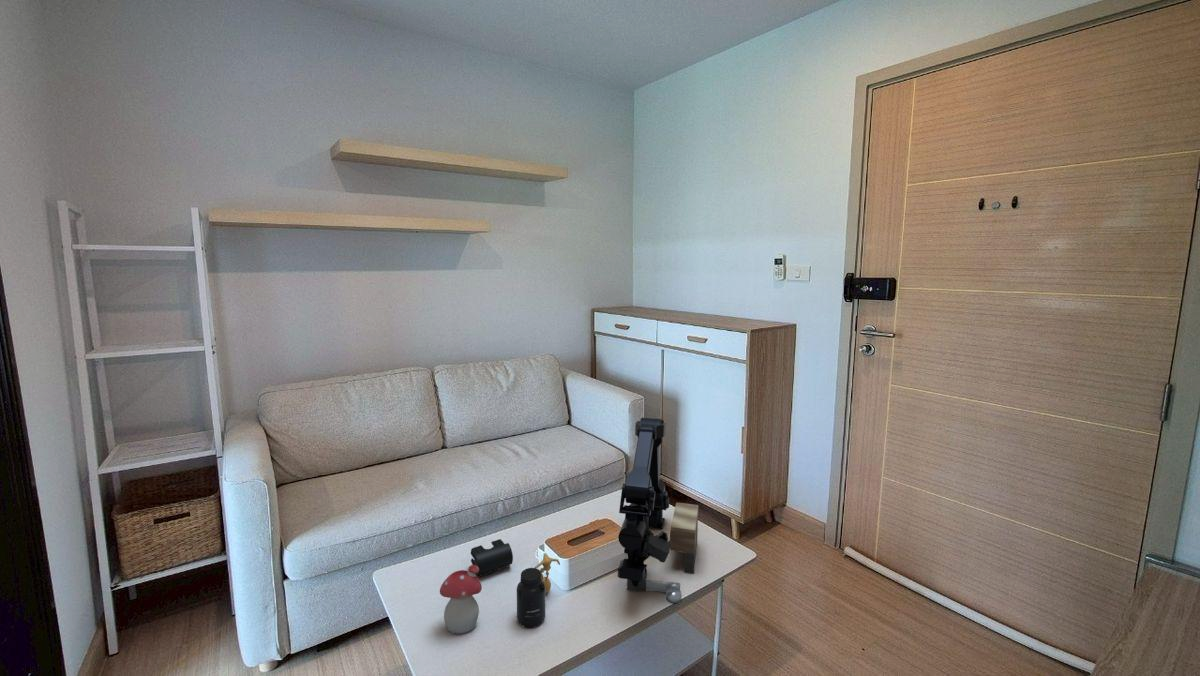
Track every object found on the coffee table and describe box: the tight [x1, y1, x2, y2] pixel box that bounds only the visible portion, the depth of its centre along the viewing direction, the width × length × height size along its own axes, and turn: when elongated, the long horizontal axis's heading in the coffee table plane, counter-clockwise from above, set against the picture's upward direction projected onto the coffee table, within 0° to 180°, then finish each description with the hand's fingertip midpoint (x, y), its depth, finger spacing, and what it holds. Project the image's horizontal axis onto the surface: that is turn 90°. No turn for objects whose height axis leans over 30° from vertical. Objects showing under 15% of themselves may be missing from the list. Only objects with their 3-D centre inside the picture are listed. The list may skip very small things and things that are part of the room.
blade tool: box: [626, 568, 681, 593], centre depth 130 cm, size 2×14×5 cm, turn 81°
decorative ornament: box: [439, 564, 483, 634], centre depth 117 cm, size 9×7×15 cm
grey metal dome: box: [666, 587, 682, 604], centre depth 127 cm, size 4×4×2 cm
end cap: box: [470, 538, 514, 578], centre depth 139 cm, size 10×7×7 cm
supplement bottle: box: [516, 567, 546, 629], centre depth 119 cm, size 7×7×12 cm
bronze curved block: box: [669, 502, 699, 575], centre depth 144 cm, size 14×7×13 cm, turn 165°
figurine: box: [533, 552, 561, 594], centre depth 128 cm, size 8×6×12 cm
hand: (636, 582), depth 130 cm, fingers closed on blade tool, 2 cm apart
